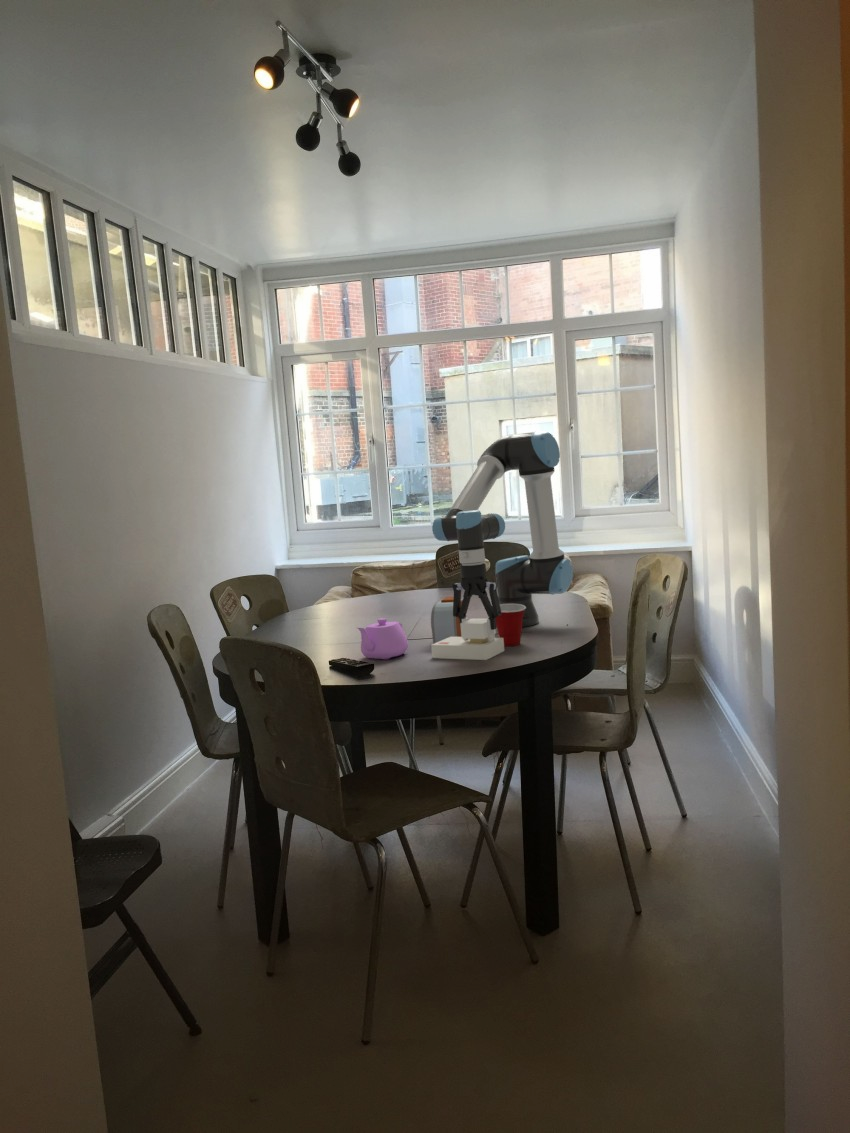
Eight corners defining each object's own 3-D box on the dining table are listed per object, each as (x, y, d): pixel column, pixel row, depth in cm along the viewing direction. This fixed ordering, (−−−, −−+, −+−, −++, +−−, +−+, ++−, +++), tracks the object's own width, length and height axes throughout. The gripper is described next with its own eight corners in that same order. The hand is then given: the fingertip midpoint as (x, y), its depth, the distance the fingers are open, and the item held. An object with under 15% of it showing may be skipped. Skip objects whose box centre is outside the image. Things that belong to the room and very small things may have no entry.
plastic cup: (510, 649, 268) (506, 610, 267) (486, 645, 277) (483, 607, 275) (536, 642, 274) (533, 604, 273) (512, 639, 283) (509, 602, 282)
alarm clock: (444, 636, 298) (440, 596, 297) (469, 635, 296) (465, 595, 294) (432, 646, 284) (428, 604, 283) (458, 645, 282) (454, 602, 280)
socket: (451, 649, 276) (450, 636, 276) (504, 650, 267) (503, 637, 266) (432, 658, 266) (431, 644, 266) (486, 659, 257) (485, 646, 256)
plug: (462, 648, 263) (460, 623, 262) (474, 642, 269) (472, 618, 268) (485, 649, 259) (483, 623, 258) (496, 643, 265) (494, 618, 265)
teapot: (387, 649, 286) (384, 612, 285) (420, 651, 278) (416, 614, 276) (345, 663, 270) (341, 624, 269) (378, 666, 262) (374, 626, 261)
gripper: (436, 566, 264) (442, 642, 266) (498, 564, 253) (504, 643, 255) (448, 562, 270) (455, 636, 272) (509, 560, 259) (516, 638, 262)
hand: (479, 640), depth 264 cm, fingers open, 8 cm apart
